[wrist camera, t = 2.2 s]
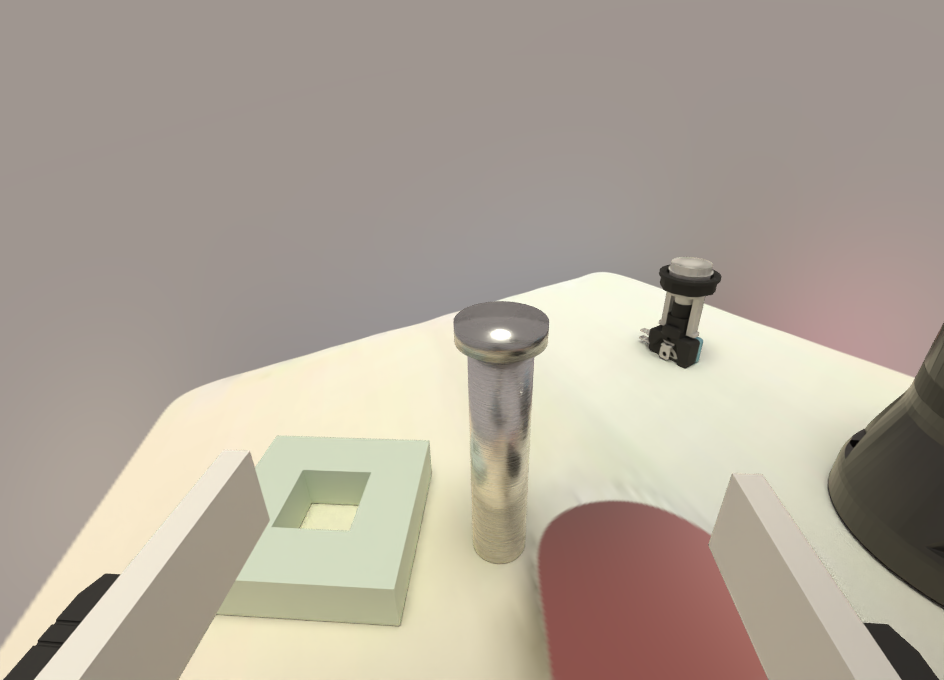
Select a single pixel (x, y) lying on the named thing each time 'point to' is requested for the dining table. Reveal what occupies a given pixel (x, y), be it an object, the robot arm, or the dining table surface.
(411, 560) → the socket block
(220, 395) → the dining table surface
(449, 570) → the dining table surface
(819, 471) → the dining table surface
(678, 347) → the push button
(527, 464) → the steel pin
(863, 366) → the dining table surface
